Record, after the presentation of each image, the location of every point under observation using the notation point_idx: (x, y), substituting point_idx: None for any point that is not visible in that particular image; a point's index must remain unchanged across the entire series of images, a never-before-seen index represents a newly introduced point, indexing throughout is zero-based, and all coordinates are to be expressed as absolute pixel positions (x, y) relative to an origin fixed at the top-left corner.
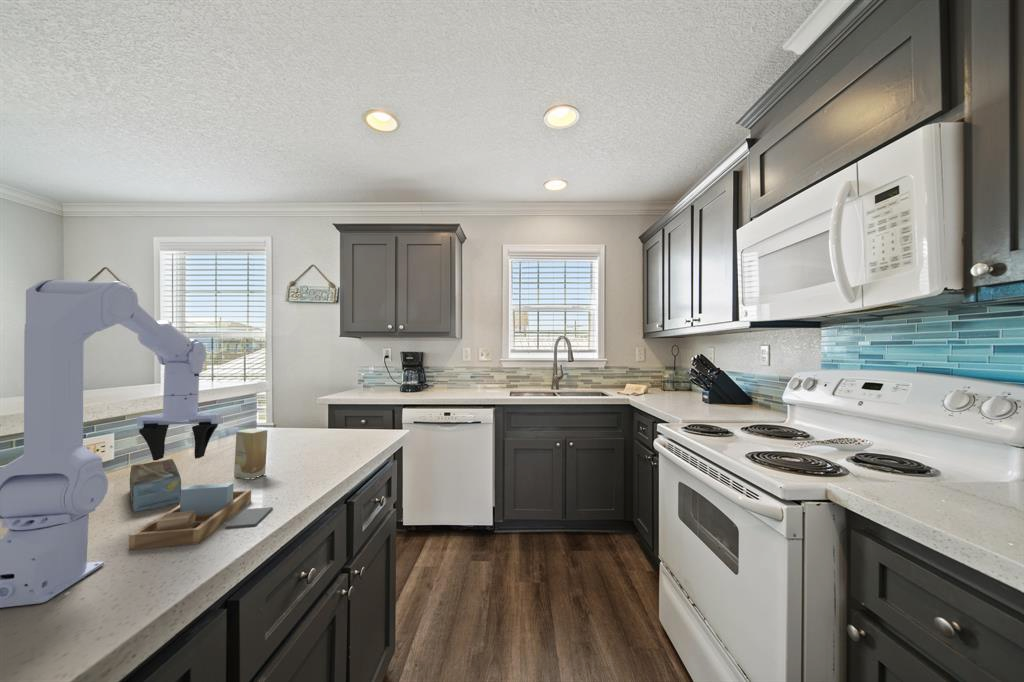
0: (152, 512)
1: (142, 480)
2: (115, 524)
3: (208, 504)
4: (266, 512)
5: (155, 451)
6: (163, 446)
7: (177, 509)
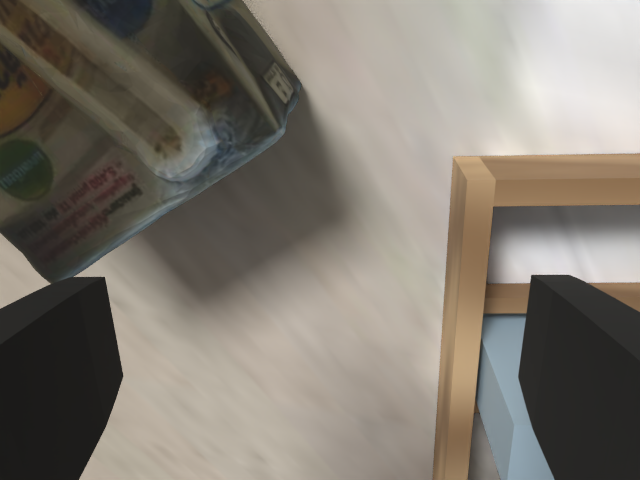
0: (244, 233)
1: (30, 200)
2: (177, 356)
3: None
4: None
5: (76, 466)
6: (25, 349)
7: (472, 420)
